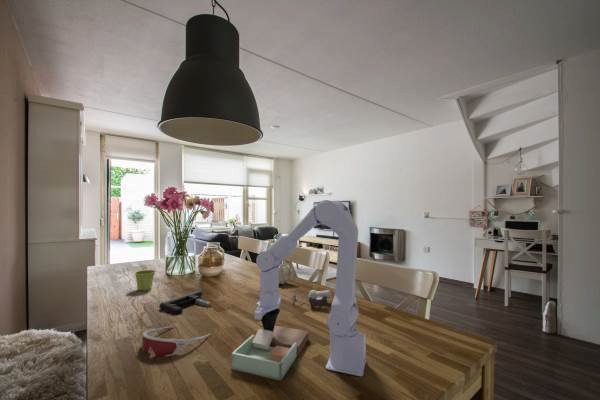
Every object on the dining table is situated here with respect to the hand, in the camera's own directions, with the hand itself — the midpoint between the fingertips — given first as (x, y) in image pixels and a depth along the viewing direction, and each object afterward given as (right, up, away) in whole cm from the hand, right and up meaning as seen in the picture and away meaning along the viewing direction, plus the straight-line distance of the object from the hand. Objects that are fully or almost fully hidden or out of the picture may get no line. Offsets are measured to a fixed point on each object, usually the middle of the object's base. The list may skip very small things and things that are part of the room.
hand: (268, 334), depth 82 cm
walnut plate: (+4, -3, +1) cm, 5 cm away
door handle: (-37, -4, +32) cm, 49 cm away
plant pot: (-69, -4, +54) cm, 88 cm away
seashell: (-1, -5, +65) cm, 65 cm away
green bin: (0, -3, -10) cm, 10 cm away
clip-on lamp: (+14, -5, +35) cm, 38 cm away
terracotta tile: (+4, -2, -9) cm, 10 cm away
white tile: (-1, -1, -3) cm, 3 cm away
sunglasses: (-30, -4, +1) cm, 30 cm away
